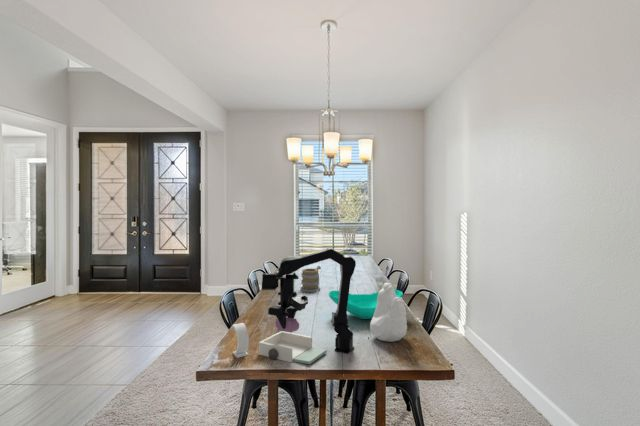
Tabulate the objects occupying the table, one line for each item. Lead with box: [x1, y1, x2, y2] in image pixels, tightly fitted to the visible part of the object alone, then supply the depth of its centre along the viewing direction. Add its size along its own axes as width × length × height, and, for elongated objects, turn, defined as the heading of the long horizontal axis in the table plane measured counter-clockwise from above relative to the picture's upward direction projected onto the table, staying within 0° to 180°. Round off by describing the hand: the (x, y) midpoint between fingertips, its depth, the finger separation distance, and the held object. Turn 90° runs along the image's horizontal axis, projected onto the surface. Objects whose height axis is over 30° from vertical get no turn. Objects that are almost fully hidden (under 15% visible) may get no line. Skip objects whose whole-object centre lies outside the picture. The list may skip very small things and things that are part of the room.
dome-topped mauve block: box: [274, 317, 300, 333], centre depth 163 cm, size 11×4×4 cm, turn 65°
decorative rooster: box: [369, 282, 408, 343], centre depth 175 cm, size 25×16×25 cm, turn 1°
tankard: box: [300, 265, 322, 293], centre depth 274 cm, size 20×13×15 cm, turn 147°
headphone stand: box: [232, 322, 250, 359], centre depth 160 cm, size 5×6×12 cm
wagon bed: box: [258, 331, 313, 363], centre depth 164 cm, size 16×19×5 cm
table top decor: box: [328, 289, 404, 320], centre depth 210 cm, size 40×28×13 cm
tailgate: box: [292, 347, 328, 365], centre depth 158 cm, size 1×13×8 cm
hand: (287, 327), depth 163 cm, fingers closed on dome-topped mauve block, 4 cm apart
